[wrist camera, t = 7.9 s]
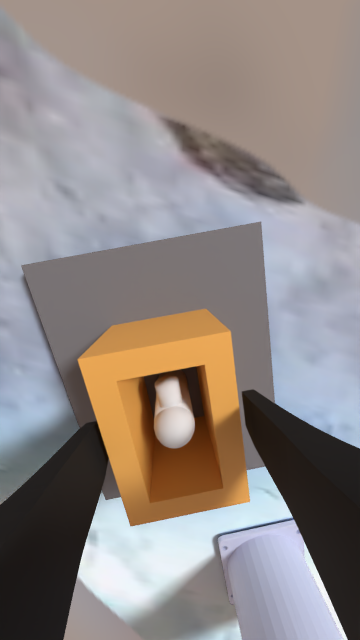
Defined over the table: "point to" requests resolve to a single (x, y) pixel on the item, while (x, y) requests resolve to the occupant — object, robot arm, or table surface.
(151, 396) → the hook board
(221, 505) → the orange link
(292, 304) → the table surface
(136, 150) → the table surface
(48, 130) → the table surface
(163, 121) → the table surface
